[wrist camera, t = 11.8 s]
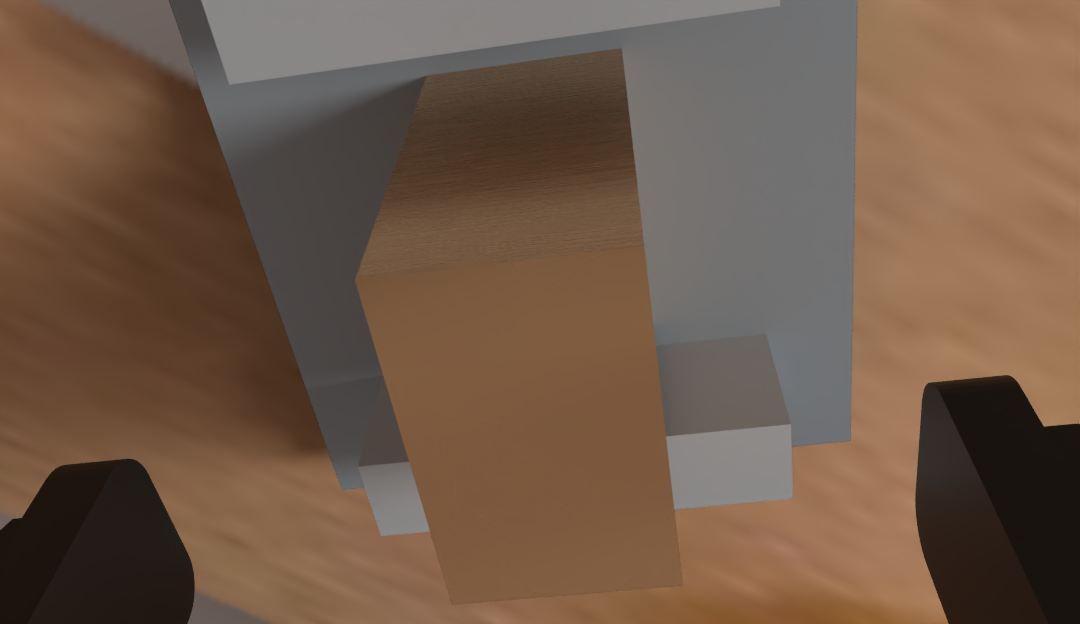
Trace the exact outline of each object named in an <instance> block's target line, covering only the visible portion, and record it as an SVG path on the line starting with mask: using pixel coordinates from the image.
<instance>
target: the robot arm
mask: <svg viewBox="0 0 1080 624" xmlns="http://www.w3.org/2000/svg"><path fill="white" fill-rule="evenodd" d="M915 501H916V518H917V526H918V532H919V537H920V542H921V547H922V551H923V554H924V558H925V561H926V564H927V566H928V569H929V572H930V574H931V577H932V580H933V583H934V585H935V588H936V591H937V593H938V596H939V599H940V601H941V604H942V607H943V610H944V612H945V615H946V618H947V620H948V623H949V624H1080V424H1069V425H1058V426H1047V427H1044V426H1043V425H1042V423H1041V421H1040V420H1039V418H1038V416H1037V414H1036V413H1035V411H1034V409H1033V408H1032V406H1031V404H1030V402H1029V401H1028V399H1027V397H1026V395H1025V394H1024V392H1023V390H1022V389H1021V387H1020V385H1019V384H1018V382H1017V381H1016V380H1015V379H1014V378H1013V377H1011V376H1008V375H1004V376H993V377H983V378H973V379H963V380H953V381H942V382H932V383H928V384H927V385H926V386H925V389H924V393H923V398H922V410H921V425H920V439H919V453H918V468H917V482H916V499H915ZM194 590H195V587H194V573H193V567H192V563H191V560H190V557H189V555H188V553H187V551H186V549H185V547H184V545H183V543H182V541H181V539H180V537H179V535H178V533H177V531H176V529H175V527H174V525H173V523H172V521H171V519H170V517H169V515H168V513H167V511H166V509H165V507H164V505H163V503H162V501H161V499H160V497H159V495H158V493H157V491H156V489H155V487H154V485H153V483H152V481H151V479H150V477H149V475H148V473H147V471H146V469H145V468H144V467H143V466H142V464H140V463H139V462H138V461H136V460H134V459H121V460H111V461H101V462H90V463H80V464H70V465H63V466H60V467H58V468H56V469H55V470H54V471H53V472H51V474H50V475H49V476H48V478H47V479H46V481H45V482H44V484H43V485H42V487H41V488H40V490H39V492H38V493H37V495H36V496H35V498H34V500H33V501H32V503H31V504H30V506H29V508H28V509H27V511H26V512H25V514H24V515H23V517H22V518H18V519H12V520H11V521H10V522H9V523H8V524H7V525H6V526H5V527H3V529H1V530H0V624H187V623H188V620H189V618H190V615H191V611H192V607H193V601H194Z"/></svg>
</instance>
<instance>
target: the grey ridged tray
mask: <svg viewBox="0 0 1080 624" xmlns="http://www.w3.org/2000/svg"><path fill="white" fill-rule="evenodd" d="M169 2H170V5H171V8H172V11H173V13H174V17H175V19H176V22H177V25H178V28H179V31H180V34H181V36H182V39H183V42H184V45H185V48H186V50H187V53H188V56H189V59H190V62H191V65H192V68H193V70H194V73H195V76H196V79H197V82H198V85H199V87H200V90H201V93H202V96H203V99H204V102H205V104H206V107H207V110H208V113H209V116H210V118H211V121H212V124H213V127H214V130H215V133H216V135H217V138H218V141H219V144H220V147H221V150H222V152H223V155H224V158H225V161H226V164H227V167H228V169H229V172H230V175H231V178H232V181H233V184H234V186H235V189H236V192H237V195H238V198H239V201H240V203H241V206H242V209H243V212H244V215H245V218H246V220H247V223H248V226H249V229H250V232H251V235H252V237H253V240H254V243H255V246H256V249H257V251H258V254H259V257H260V260H261V263H262V266H263V268H264V271H265V274H266V277H267V280H268V283H269V285H270V288H271V291H272V294H273V297H274V300H275V302H276V305H277V308H278V311H279V314H280V317H281V319H282V322H283V325H284V328H285V331H286V334H287V336H288V339H289V342H290V345H291V348H292V351H293V353H294V356H295V359H296V362H297V365H298V368H299V370H300V373H301V376H302V379H303V382H304V384H305V387H306V390H307V393H308V396H309V399H310V401H311V404H312V407H313V410H314V413H315V416H316V418H317V421H318V424H319V427H320V430H321V433H322V435H323V438H324V441H325V444H326V447H327V450H328V452H329V455H330V458H331V461H332V464H333V467H334V469H335V472H336V475H337V478H338V481H339V484H340V486H341V489H342V490H346V489H357V488H365V490H366V493H367V495H368V498H369V501H370V504H371V507H372V510H373V513H374V516H375V519H376V522H377V525H378V528H379V531H380V534H381V536H386V535H397V534H408V533H419V532H430V530H429V527H428V523H427V520H426V516H425V513H424V510H423V506H422V503H421V500H420V496H419V493H418V490H417V486H416V483H415V480H414V476H413V473H412V470H411V466H410V463H409V460H408V456H407V453H406V450H405V446H404V443H403V440H402V436H401V433H400V430H399V426H398V423H397V419H396V416H395V413H394V409H393V406H392V403H391V399H390V396H389V393H388V389H387V386H386V383H385V379H384V376H383V373H382V369H381V366H380V363H379V359H378V356H377V353H376V349H375V346H374V343H373V339H372V336H371V333H370V329H369V326H368V323H367V319H366V316H365V312H364V309H363V306H362V302H361V299H360V296H359V292H358V289H357V286H356V282H355V279H356V276H357V273H358V270H359V267H360V264H361V262H362V259H363V256H364V253H365V250H366V247H367V244H368V242H369V239H370V236H371V233H372V230H373V227H374V224H375V222H376V219H377V216H378V213H379V210H380V207H381V204H382V202H383V199H384V196H385V193H386V190H387V187H388V185H389V182H390V179H391V176H392V173H393V170H394V167H395V165H396V162H397V159H398V156H399V153H400V150H401V147H402V145H403V142H404V139H405V136H406V133H407V130H408V127H409V125H410V122H411V119H412V116H413V113H414V110H415V108H416V105H417V102H418V99H419V96H420V93H421V90H422V88H423V85H424V82H425V79H426V76H427V75H434V74H441V73H448V72H455V71H463V70H470V69H477V68H484V67H491V66H498V65H505V64H512V63H519V62H526V61H533V60H540V59H547V58H554V57H561V56H569V55H576V54H583V53H590V52H597V51H604V50H611V49H618V48H622V53H623V62H624V71H625V80H626V88H627V97H628V106H629V115H630V123H631V132H632V141H633V150H634V159H635V167H636V176H637V185H638V194H639V202H640V211H641V220H642V229H643V238H644V246H645V255H646V264H647V273H648V281H649V290H650V299H651V308H652V317H653V325H654V334H655V343H656V352H657V361H658V369H659V378H660V387H661V396H662V405H663V413H664V422H665V431H666V440H667V449H668V458H669V466H670V475H671V484H672V493H673V502H674V509H685V508H696V507H707V506H718V505H729V504H740V503H751V502H762V501H773V500H784V499H793V486H792V447H794V446H805V445H815V444H826V443H836V442H847V441H851V383H852V320H853V256H854V193H855V129H856V66H857V3H858V0H169Z"/></svg>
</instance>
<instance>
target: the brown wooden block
mask: <svg viewBox="0 0 1080 624" xmlns="http://www.w3.org/2000/svg"><path fill="white" fill-rule="evenodd" d="M355 282H356V286H357V289H358V292H359V296H360V299H361V302H362V306H363V309H364V312H365V316H366V319H367V323H368V326H369V329H370V333H371V336H372V339H373V343H374V346H375V349H376V353H377V356H378V359H379V363H380V366H381V369H382V373H383V376H384V379H385V383H386V386H387V389H388V393H389V396H390V399H391V403H392V406H393V409H394V413H395V416H396V419H397V423H398V426H399V430H400V433H401V436H402V440H403V443H404V446H405V450H406V453H407V456H408V460H409V463H410V466H411V470H412V473H413V476H414V480H415V483H416V486H417V490H418V493H419V496H420V500H421V503H422V506H423V510H424V513H425V516H426V520H427V523H428V527H429V530H430V533H431V537H432V540H433V543H434V547H435V550H436V553H437V557H438V560H439V563H440V567H441V570H442V573H443V577H444V580H445V583H446V587H447V590H448V593H449V597H450V600H451V603H452V605H457V604H469V603H481V602H493V601H505V600H517V599H529V598H542V597H554V596H566V595H578V594H590V593H602V592H614V591H627V590H639V589H651V588H663V587H675V586H683V581H682V572H681V563H680V555H679V546H678V537H677V528H676V519H675V511H674V502H673V493H672V484H671V475H670V466H669V458H668V449H667V440H666V431H665V422H664V413H663V405H662V396H661V387H660V378H659V369H658V361H657V352H656V343H655V334H654V325H653V317H652V308H651V299H650V290H649V281H648V273H647V264H646V255H645V246H644V238H643V229H642V220H641V211H640V202H639V194H638V185H637V176H636V167H635V159H634V150H633V141H632V132H631V123H630V115H629V106H628V97H627V88H626V80H625V71H624V62H623V53H622V48H618V49H611V50H604V51H597V52H590V53H583V54H576V55H569V56H561V57H554V58H547V59H540V60H533V61H526V62H519V63H512V64H505V65H498V66H491V67H484V68H477V69H470V70H463V71H455V72H448V73H441V74H434V75H427V76H426V79H425V82H424V85H423V88H422V90H421V93H420V96H419V99H418V102H417V105H416V108H415V110H414V113H413V116H412V119H411V122H410V125H409V127H408V130H407V133H406V136H405V139H404V142H403V145H402V147H401V150H400V153H399V156H398V159H397V162H396V165H395V167H394V170H393V173H392V176H391V179H390V182H389V185H388V187H387V190H386V193H385V196H384V199H383V202H382V204H381V207H380V210H379V213H378V216H377V219H376V222H375V224H374V227H373V230H372V233H371V236H370V239H369V242H368V244H367V247H366V250H365V253H364V256H363V259H362V262H361V264H360V267H359V270H358V273H357V276H356V279H355Z"/></svg>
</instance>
